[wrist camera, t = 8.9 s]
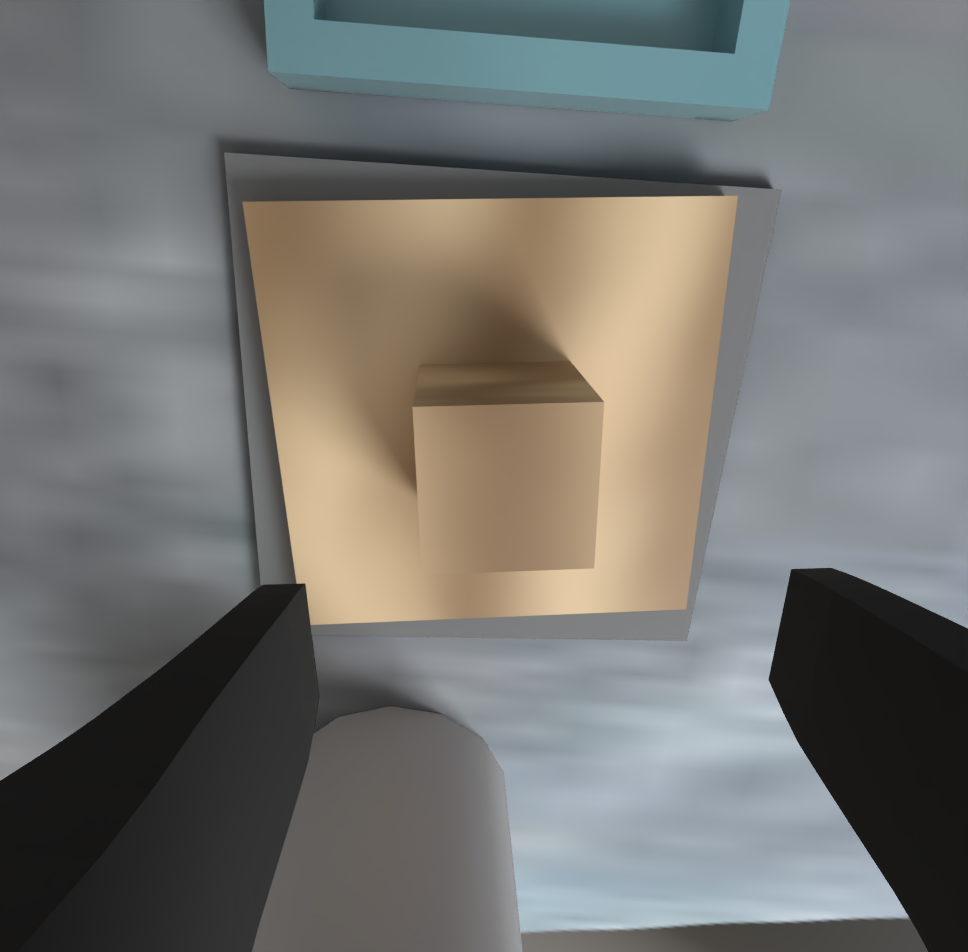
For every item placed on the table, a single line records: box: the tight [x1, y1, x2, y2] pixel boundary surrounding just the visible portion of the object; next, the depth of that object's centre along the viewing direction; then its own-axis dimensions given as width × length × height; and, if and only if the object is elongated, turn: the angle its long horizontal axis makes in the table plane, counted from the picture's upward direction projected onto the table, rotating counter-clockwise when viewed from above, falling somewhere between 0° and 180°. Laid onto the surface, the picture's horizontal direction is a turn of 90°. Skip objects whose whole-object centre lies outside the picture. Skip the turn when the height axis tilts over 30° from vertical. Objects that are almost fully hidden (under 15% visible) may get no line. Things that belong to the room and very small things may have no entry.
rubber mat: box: [224, 152, 782, 641], centre depth 19 cm, size 14×14×1 cm
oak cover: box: [242, 196, 738, 625], centre depth 16 cm, size 12×12×5 cm
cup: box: [252, 706, 522, 952], centre depth 20 cm, size 8×8×10 cm
